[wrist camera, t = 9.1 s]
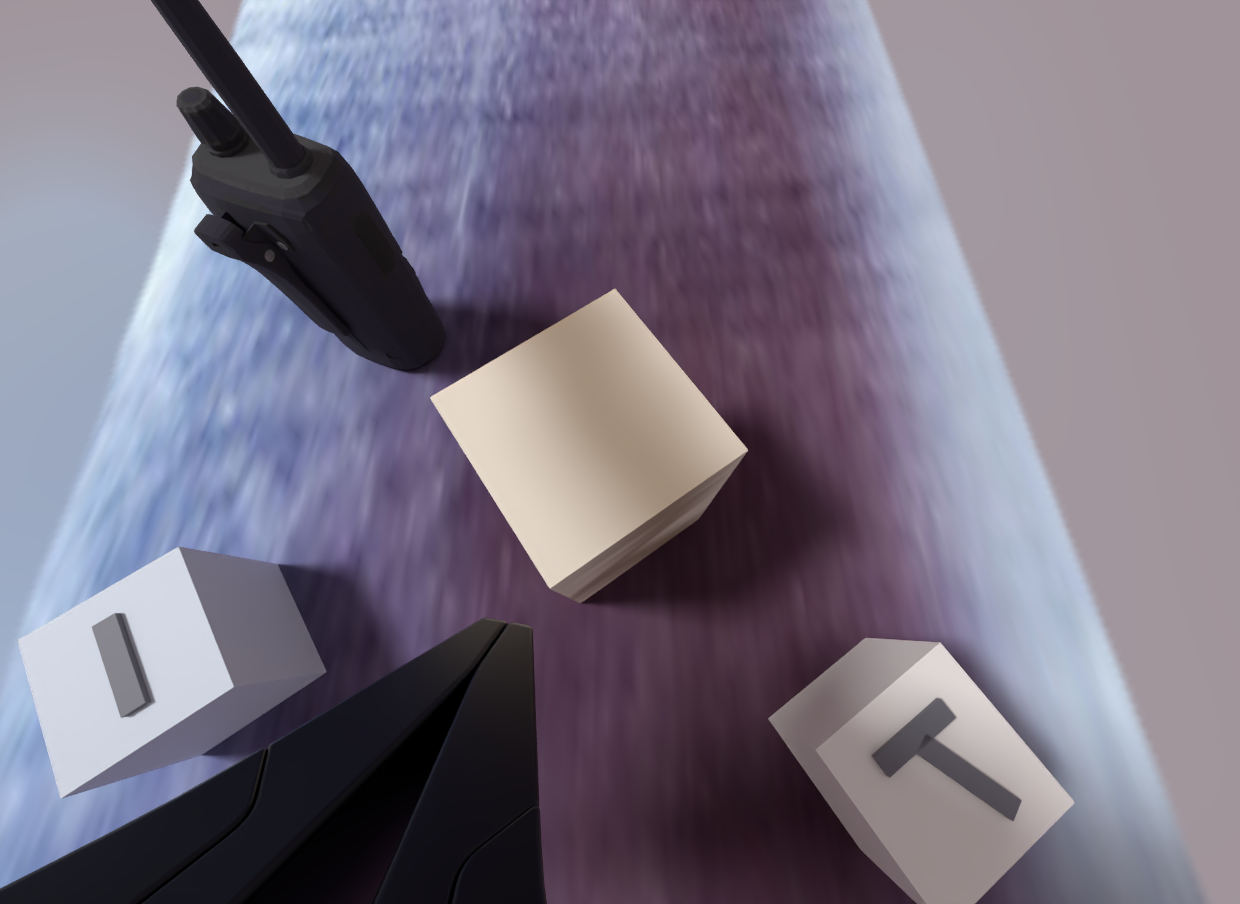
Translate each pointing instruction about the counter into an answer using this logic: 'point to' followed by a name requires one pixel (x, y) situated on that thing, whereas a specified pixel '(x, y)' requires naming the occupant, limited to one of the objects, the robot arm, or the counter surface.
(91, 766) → the white letter cube
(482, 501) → the counter surface
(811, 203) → the counter surface
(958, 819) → the white letter block
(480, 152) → the counter surface
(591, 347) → the birch block
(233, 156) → the two-way radio
